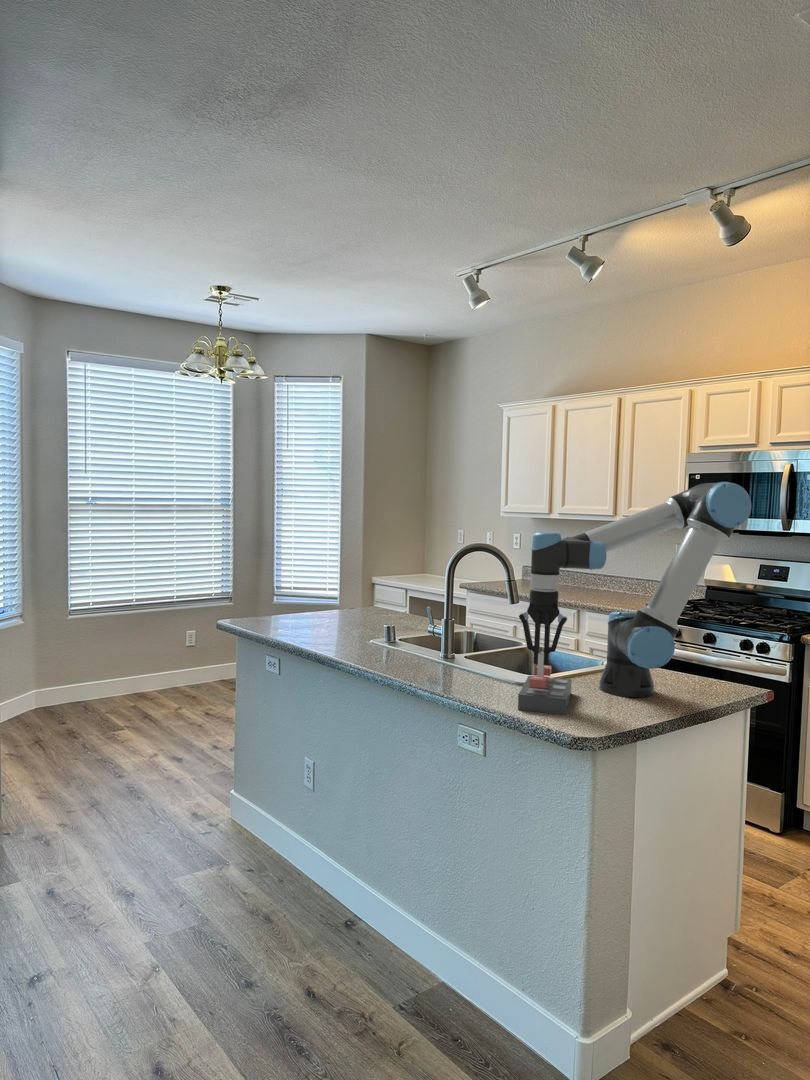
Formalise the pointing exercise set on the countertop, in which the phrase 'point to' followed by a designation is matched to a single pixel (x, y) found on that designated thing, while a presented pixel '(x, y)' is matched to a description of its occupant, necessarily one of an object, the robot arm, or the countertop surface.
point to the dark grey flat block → (546, 696)
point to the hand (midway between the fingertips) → (540, 676)
